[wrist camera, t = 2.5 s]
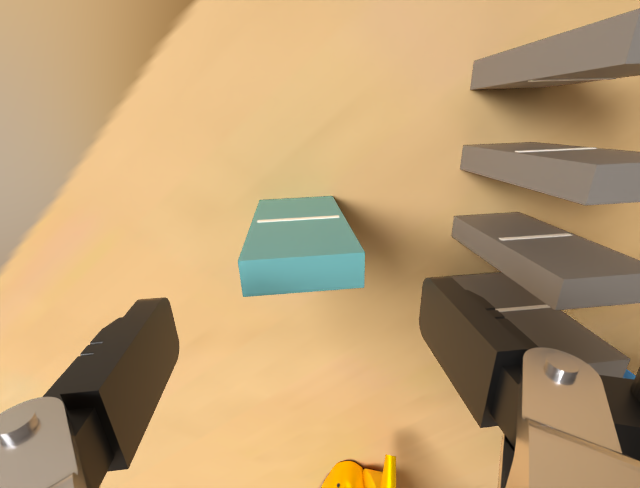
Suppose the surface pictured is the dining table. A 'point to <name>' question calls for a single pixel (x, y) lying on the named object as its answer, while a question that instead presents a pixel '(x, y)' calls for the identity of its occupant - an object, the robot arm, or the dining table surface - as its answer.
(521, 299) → the tile
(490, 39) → the dining table surface
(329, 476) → the figure statuette
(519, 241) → the tile
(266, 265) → the end tile
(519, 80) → the tile
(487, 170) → the tile
